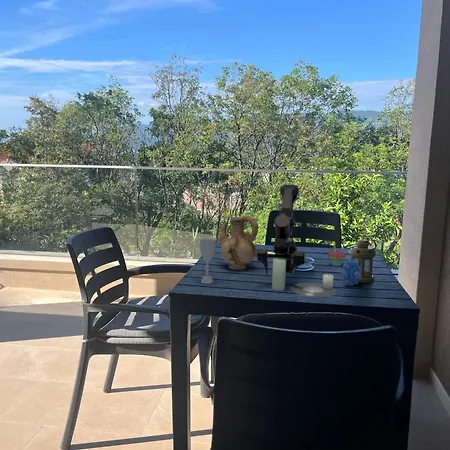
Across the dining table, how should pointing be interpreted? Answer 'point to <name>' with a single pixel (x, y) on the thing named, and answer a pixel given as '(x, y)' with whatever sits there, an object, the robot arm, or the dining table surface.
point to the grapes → (351, 272)
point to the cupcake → (336, 257)
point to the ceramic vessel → (238, 242)
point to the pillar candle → (278, 273)
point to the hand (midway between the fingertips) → (278, 275)
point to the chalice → (207, 255)
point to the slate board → (312, 290)
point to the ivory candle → (327, 281)
